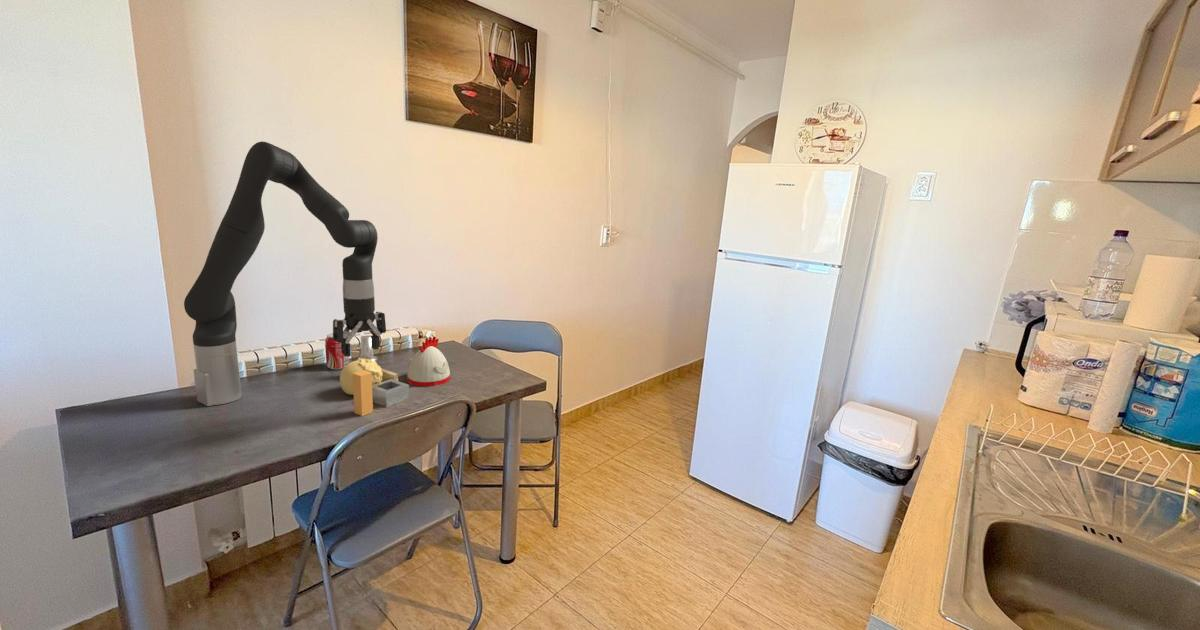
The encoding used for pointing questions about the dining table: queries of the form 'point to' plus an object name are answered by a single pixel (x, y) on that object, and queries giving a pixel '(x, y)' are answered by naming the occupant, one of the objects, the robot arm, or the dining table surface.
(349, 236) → the robot arm
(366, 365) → the sculpture
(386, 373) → the brown wooden plank
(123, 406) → the dining table surface
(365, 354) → the ringlock post
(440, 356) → the kitchen timer
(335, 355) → the soda can
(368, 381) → the orange rectangular block
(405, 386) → the grey open-top box
